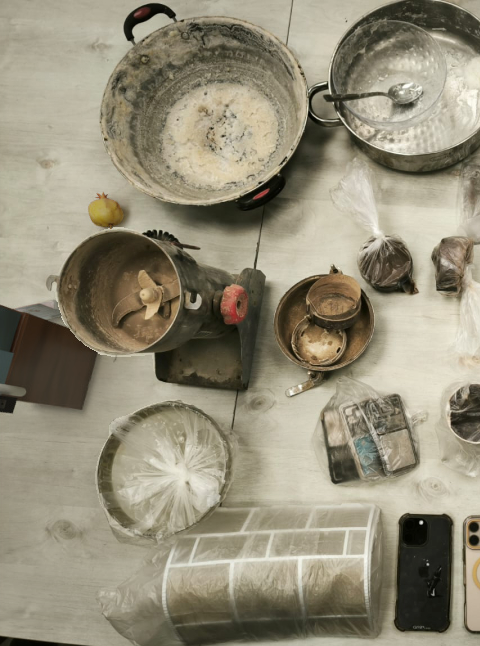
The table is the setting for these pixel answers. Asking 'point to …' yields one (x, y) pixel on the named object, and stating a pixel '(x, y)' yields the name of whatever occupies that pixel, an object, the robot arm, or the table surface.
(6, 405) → the robot arm
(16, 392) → the door
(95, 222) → the fruit
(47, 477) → the table surface
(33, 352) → the cabinet
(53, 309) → the ink box
